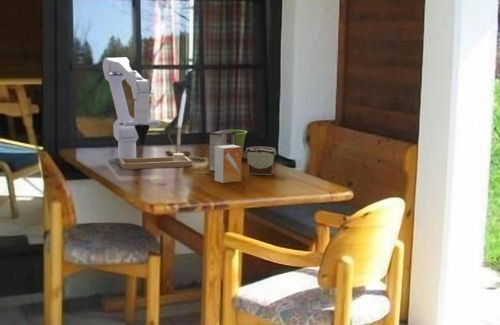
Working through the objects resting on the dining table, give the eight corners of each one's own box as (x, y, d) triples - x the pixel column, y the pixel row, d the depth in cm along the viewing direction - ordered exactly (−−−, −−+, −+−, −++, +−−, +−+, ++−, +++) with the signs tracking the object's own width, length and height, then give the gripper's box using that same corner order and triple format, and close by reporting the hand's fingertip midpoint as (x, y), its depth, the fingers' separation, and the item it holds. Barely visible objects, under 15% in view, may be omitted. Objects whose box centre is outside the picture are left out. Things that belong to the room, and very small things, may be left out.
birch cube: (172, 163, 361) (172, 153, 360) (182, 162, 362) (182, 152, 361) (174, 164, 357) (174, 154, 356) (184, 164, 358) (184, 154, 357)
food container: (280, 172, 350) (280, 147, 348) (275, 175, 344) (275, 149, 342) (250, 170, 354) (250, 145, 352) (245, 173, 348) (245, 147, 346)
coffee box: (223, 170, 354) (223, 129, 351) (236, 172, 350) (236, 131, 348) (208, 173, 347) (208, 132, 344) (222, 175, 343) (222, 133, 340)
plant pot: (214, 159, 380) (214, 132, 378) (226, 154, 391) (226, 129, 389) (240, 160, 376) (240, 134, 374) (251, 156, 386) (251, 130, 385)
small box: (223, 183, 328) (223, 148, 326) (214, 180, 333) (214, 146, 331) (241, 181, 332) (242, 146, 330) (232, 178, 338) (232, 144, 335)
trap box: (119, 167, 359) (119, 158, 359) (185, 164, 367) (185, 156, 366) (123, 172, 348) (123, 163, 347) (191, 169, 355) (191, 160, 355)
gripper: (124, 111, 350) (125, 146, 352) (161, 110, 354) (161, 144, 356) (122, 109, 357) (122, 143, 359) (158, 108, 361) (158, 142, 363)
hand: (142, 144), depth 358 cm, fingers closed
